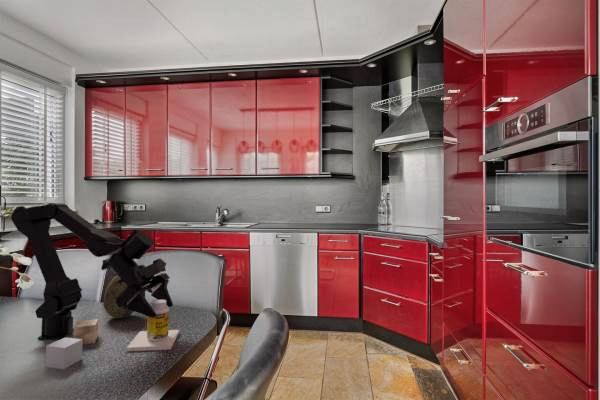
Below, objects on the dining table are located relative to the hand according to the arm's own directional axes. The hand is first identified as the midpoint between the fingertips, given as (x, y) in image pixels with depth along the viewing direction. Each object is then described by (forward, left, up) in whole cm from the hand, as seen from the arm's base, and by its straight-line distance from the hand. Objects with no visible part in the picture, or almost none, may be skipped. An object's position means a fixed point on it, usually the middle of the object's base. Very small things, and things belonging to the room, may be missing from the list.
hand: (163, 311), depth 91 cm
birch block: (-21, +3, -9) cm, 23 cm away
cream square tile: (-2, 0, -9) cm, 9 cm away
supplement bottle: (-2, 0, -8) cm, 8 cm away
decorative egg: (-18, +21, -9) cm, 29 cm away
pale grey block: (-20, -10, -9) cm, 24 cm away
